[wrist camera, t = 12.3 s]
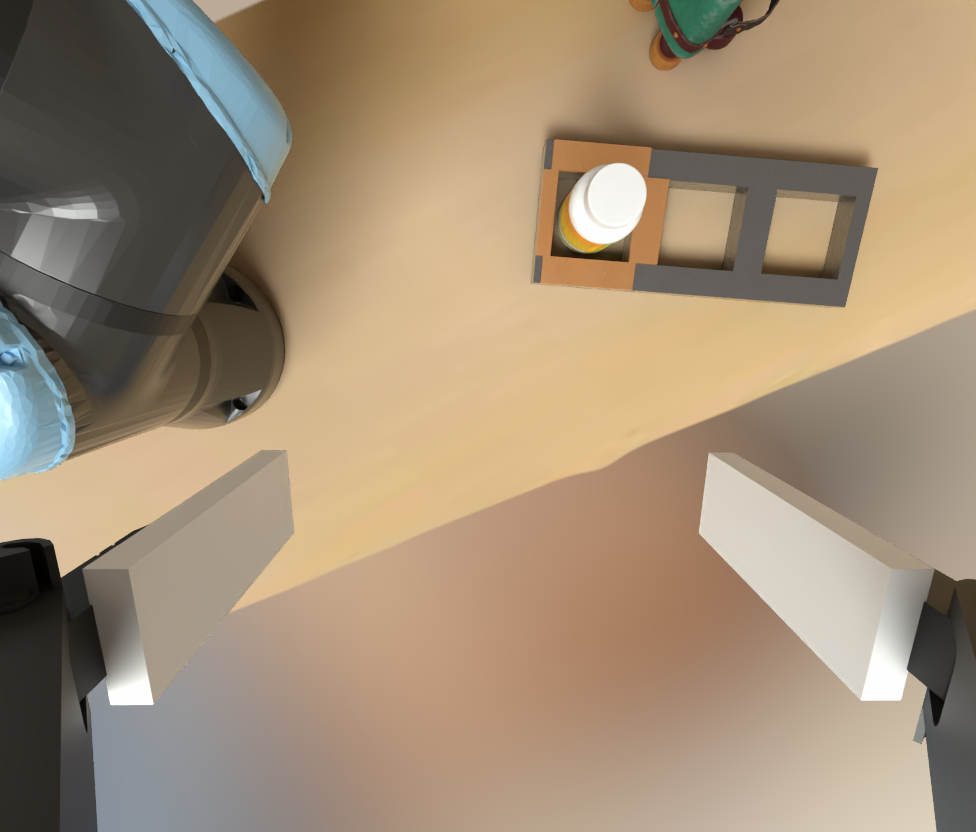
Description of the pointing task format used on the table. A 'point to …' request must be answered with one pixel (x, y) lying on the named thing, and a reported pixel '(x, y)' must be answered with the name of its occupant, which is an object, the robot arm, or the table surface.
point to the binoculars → (694, 27)
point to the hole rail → (747, 230)
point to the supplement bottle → (602, 208)
